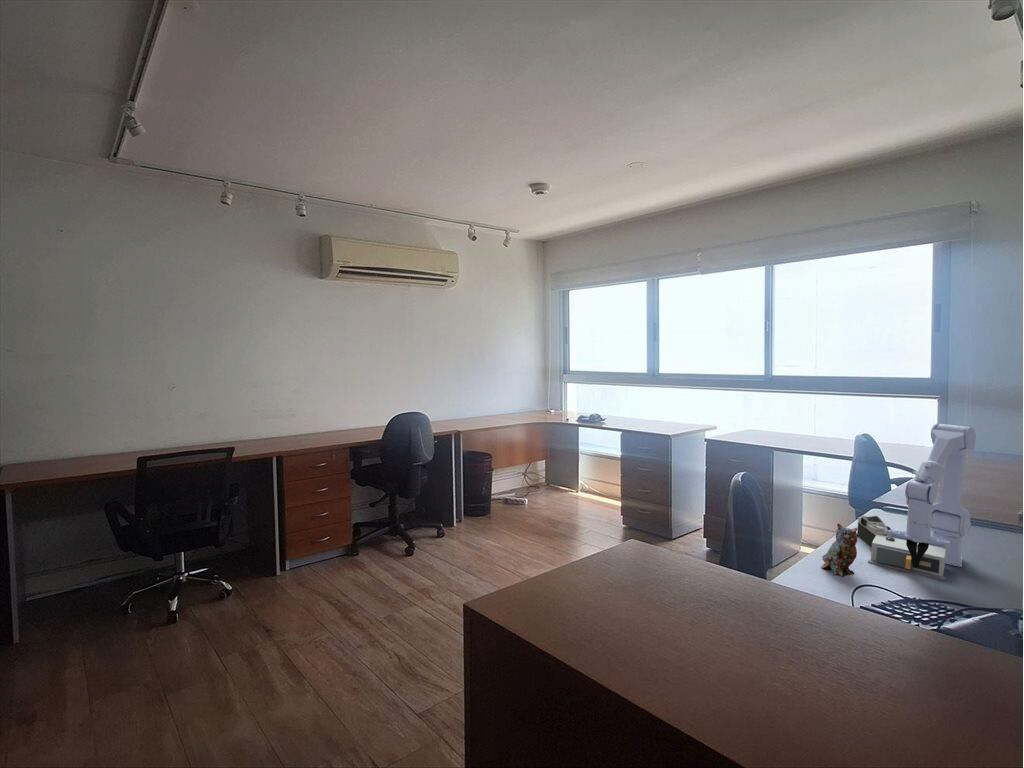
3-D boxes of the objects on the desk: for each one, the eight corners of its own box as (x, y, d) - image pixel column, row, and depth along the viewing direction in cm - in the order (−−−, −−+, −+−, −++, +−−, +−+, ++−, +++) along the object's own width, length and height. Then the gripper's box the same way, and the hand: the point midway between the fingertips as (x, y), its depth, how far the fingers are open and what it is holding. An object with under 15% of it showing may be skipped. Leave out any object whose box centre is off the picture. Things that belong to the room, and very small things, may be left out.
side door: (876, 560, 171) (877, 545, 171) (912, 568, 165) (913, 553, 165) (874, 565, 167) (875, 550, 167) (911, 573, 161) (912, 558, 161)
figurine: (844, 565, 169) (847, 518, 168) (862, 578, 160) (865, 528, 159) (816, 565, 169) (819, 518, 168) (833, 577, 160) (836, 528, 159)
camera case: (873, 551, 180) (874, 532, 180) (946, 567, 168) (948, 547, 168) (867, 562, 171) (869, 542, 171) (944, 580, 159) (946, 558, 158)
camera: (902, 555, 178) (904, 525, 177) (873, 553, 179) (875, 523, 179) (880, 538, 193) (881, 510, 193) (853, 536, 195) (855, 509, 194)
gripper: (887, 519, 162) (884, 563, 163) (949, 531, 153) (946, 577, 154) (890, 514, 168) (887, 556, 169) (950, 524, 158) (947, 569, 159)
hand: (915, 566), depth 162 cm, fingers closed
